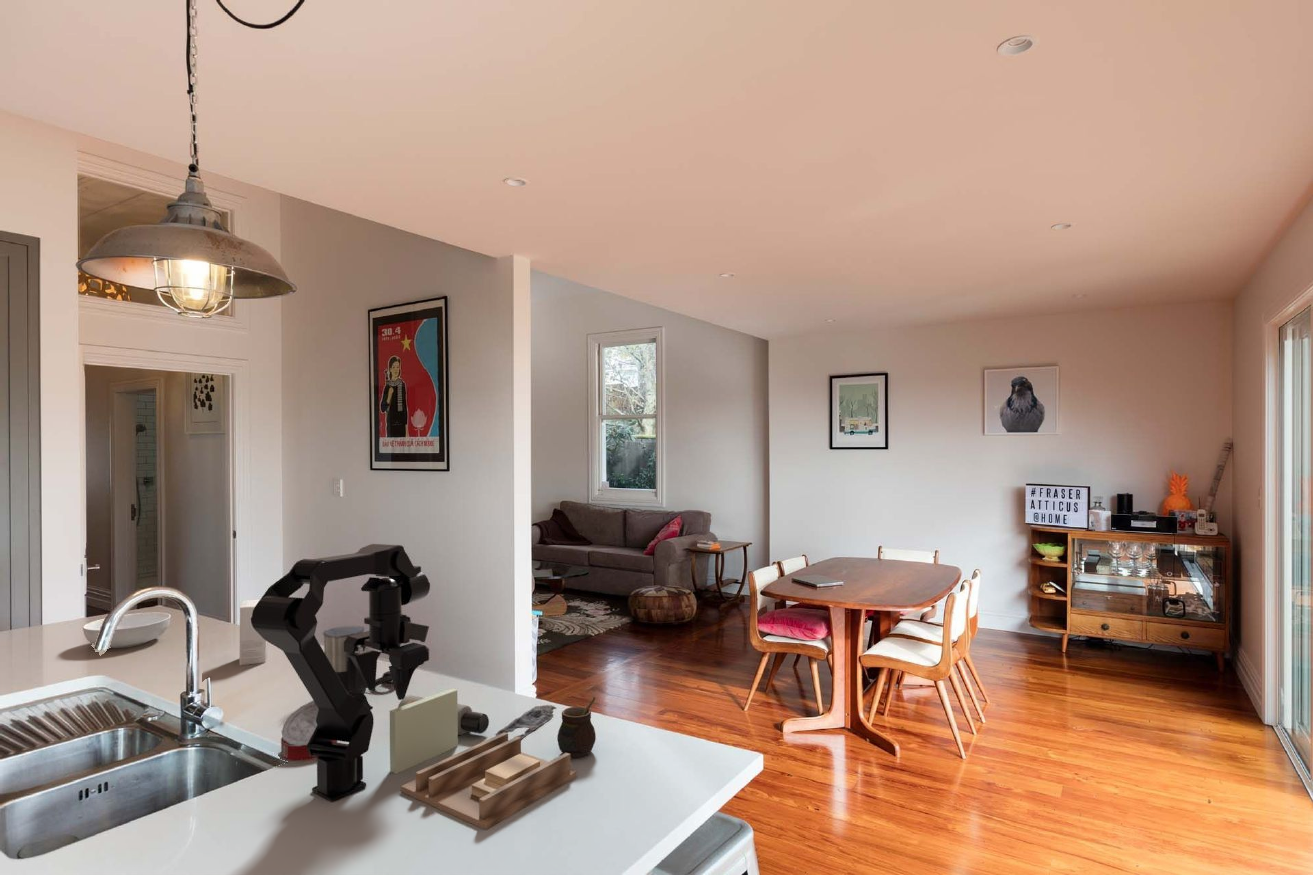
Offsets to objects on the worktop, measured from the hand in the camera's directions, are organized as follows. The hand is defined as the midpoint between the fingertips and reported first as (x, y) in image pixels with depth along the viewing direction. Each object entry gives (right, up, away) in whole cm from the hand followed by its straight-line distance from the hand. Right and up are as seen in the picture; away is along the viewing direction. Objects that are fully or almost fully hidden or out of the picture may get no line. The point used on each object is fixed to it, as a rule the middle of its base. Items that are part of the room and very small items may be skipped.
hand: (386, 694), depth 138 cm
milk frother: (-19, -12, +37) cm, 44 cm away
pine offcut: (+26, -11, -13) cm, 31 cm away
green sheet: (+7, -12, 0) cm, 14 cm away
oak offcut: (+26, -9, -12) cm, 30 cm away
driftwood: (+23, -13, +16) cm, 31 cm away
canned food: (-16, -13, +4) cm, 21 cm away
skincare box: (-58, -12, +60) cm, 84 cm away
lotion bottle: (-2, -9, +17) cm, 20 cm away
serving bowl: (-104, -12, +77) cm, 130 cm away
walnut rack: (+22, -12, -11) cm, 27 cm away
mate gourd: (+36, -12, +2) cm, 38 cm away
